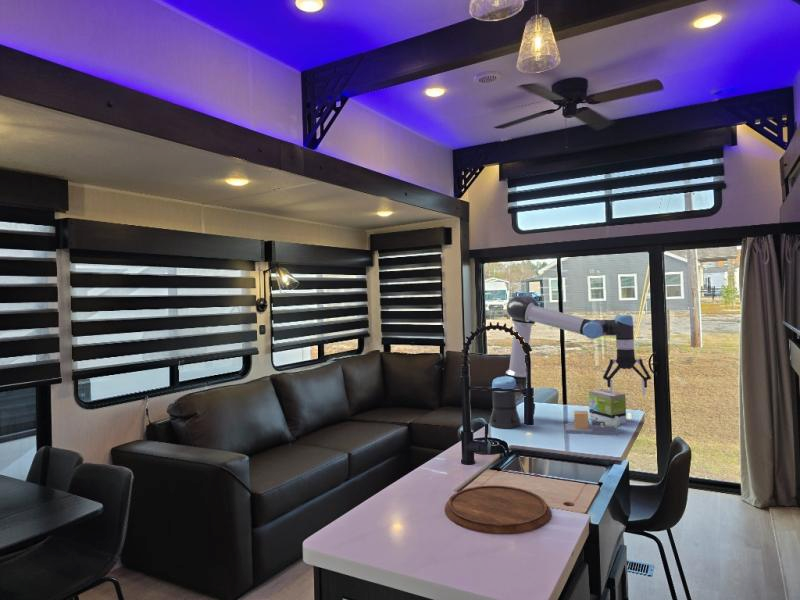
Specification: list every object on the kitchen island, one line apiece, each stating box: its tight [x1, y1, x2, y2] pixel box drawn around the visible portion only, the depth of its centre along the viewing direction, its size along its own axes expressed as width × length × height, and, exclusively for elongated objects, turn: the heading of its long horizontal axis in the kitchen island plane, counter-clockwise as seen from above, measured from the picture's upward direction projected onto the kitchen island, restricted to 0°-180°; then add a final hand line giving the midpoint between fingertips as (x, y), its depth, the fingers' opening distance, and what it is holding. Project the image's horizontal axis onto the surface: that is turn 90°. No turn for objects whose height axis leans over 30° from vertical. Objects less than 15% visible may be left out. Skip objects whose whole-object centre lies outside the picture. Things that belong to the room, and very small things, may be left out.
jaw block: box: [573, 410, 589, 429], centre depth 246 cm, size 6×6×7 cm
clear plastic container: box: [565, 420, 618, 436], centre depth 245 cm, size 22×12×6 cm, turn 72°
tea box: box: [588, 388, 627, 425], centre depth 261 cm, size 15×10×15 cm
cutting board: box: [444, 485, 552, 535], centre depth 159 cm, size 32×32×2 cm
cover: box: [604, 416, 621, 428], centre depth 242 cm, size 6×9×3 cm
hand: (627, 394), depth 240 cm, fingers open, 13 cm apart
